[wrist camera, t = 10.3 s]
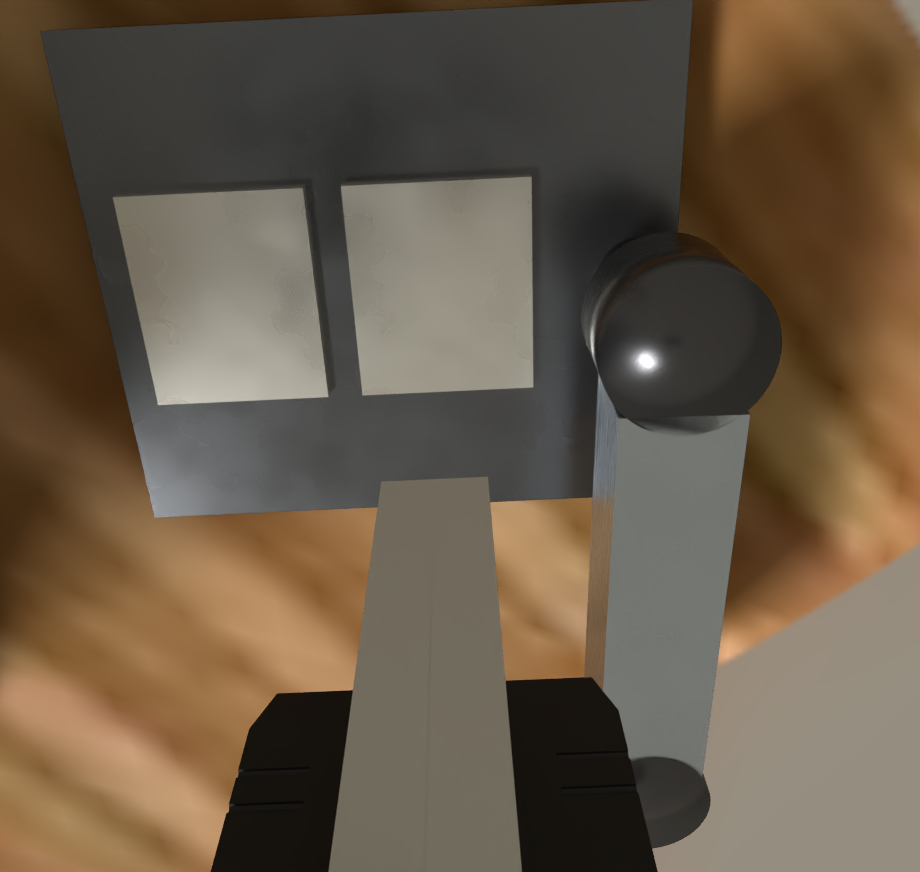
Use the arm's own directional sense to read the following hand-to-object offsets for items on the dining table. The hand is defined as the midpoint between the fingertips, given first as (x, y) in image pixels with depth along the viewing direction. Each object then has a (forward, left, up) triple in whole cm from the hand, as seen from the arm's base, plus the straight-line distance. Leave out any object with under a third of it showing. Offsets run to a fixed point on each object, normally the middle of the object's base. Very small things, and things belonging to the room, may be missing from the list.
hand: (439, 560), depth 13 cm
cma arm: (+5, -7, -11) cm, 14 cm away
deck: (-2, 0, -14) cm, 14 cm away
